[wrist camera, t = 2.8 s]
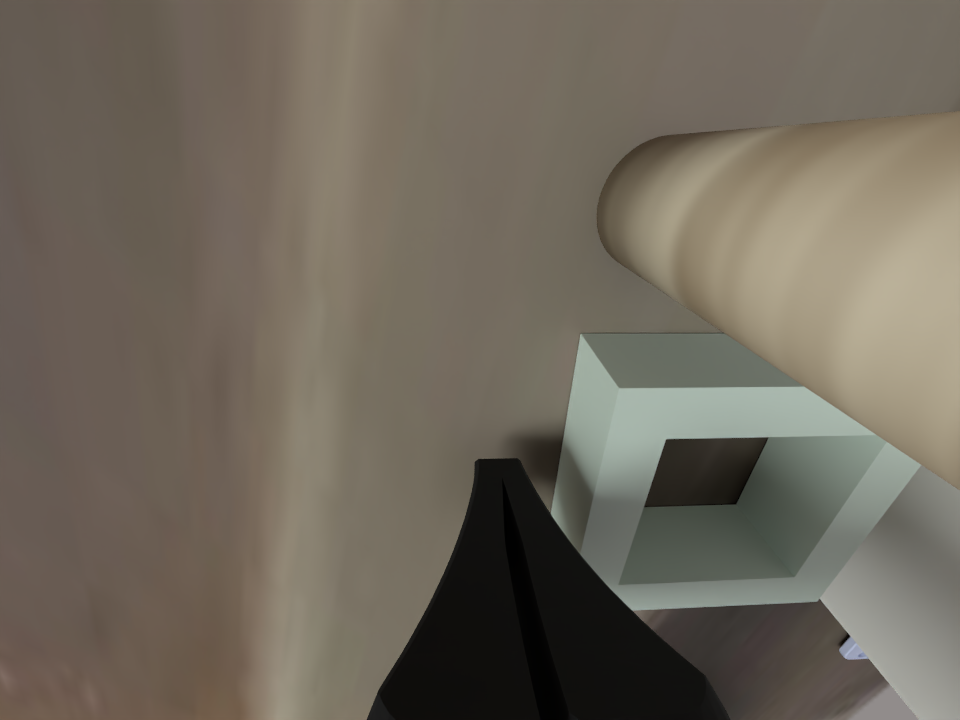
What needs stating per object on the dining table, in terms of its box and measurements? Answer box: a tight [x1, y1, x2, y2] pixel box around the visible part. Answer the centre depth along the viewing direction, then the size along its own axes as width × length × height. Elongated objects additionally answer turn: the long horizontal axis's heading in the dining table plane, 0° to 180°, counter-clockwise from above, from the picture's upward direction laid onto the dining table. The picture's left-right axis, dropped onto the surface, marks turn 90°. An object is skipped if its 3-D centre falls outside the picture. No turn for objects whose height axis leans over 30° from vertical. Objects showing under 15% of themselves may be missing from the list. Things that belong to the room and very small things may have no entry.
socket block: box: [551, 334, 921, 610], centre depth 12 cm, size 9×9×3 cm
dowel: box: [597, 111, 960, 490], centre depth 6 cm, size 3×3×8 cm
